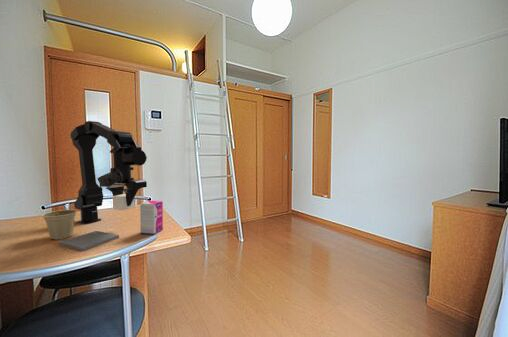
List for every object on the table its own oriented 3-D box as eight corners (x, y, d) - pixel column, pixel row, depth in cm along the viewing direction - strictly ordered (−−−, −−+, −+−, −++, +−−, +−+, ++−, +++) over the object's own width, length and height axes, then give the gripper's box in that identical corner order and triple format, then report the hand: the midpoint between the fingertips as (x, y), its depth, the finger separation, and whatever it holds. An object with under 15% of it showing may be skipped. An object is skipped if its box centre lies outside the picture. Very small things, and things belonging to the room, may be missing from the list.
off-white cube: (113, 209, 89) (112, 196, 88) (125, 206, 93) (124, 193, 93) (122, 210, 87) (122, 197, 87) (134, 207, 91) (133, 194, 91)
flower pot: (49, 243, 77) (48, 218, 76) (39, 238, 82) (37, 213, 81) (82, 235, 85) (81, 211, 84) (71, 230, 90) (70, 208, 89)
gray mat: (58, 245, 76) (58, 242, 75) (96, 233, 87) (96, 230, 87) (82, 251, 71) (82, 247, 71) (119, 237, 82) (119, 235, 82)
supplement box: (154, 235, 85) (153, 204, 84) (140, 234, 86) (138, 203, 85) (163, 230, 90) (162, 200, 89) (150, 229, 91) (149, 200, 91)
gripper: (84, 165, 85) (86, 207, 86) (120, 166, 78) (122, 212, 79) (112, 164, 95) (114, 202, 96) (147, 165, 88) (148, 205, 89)
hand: (123, 205), depth 90 cm, fingers closed on off-white cube, 5 cm apart
